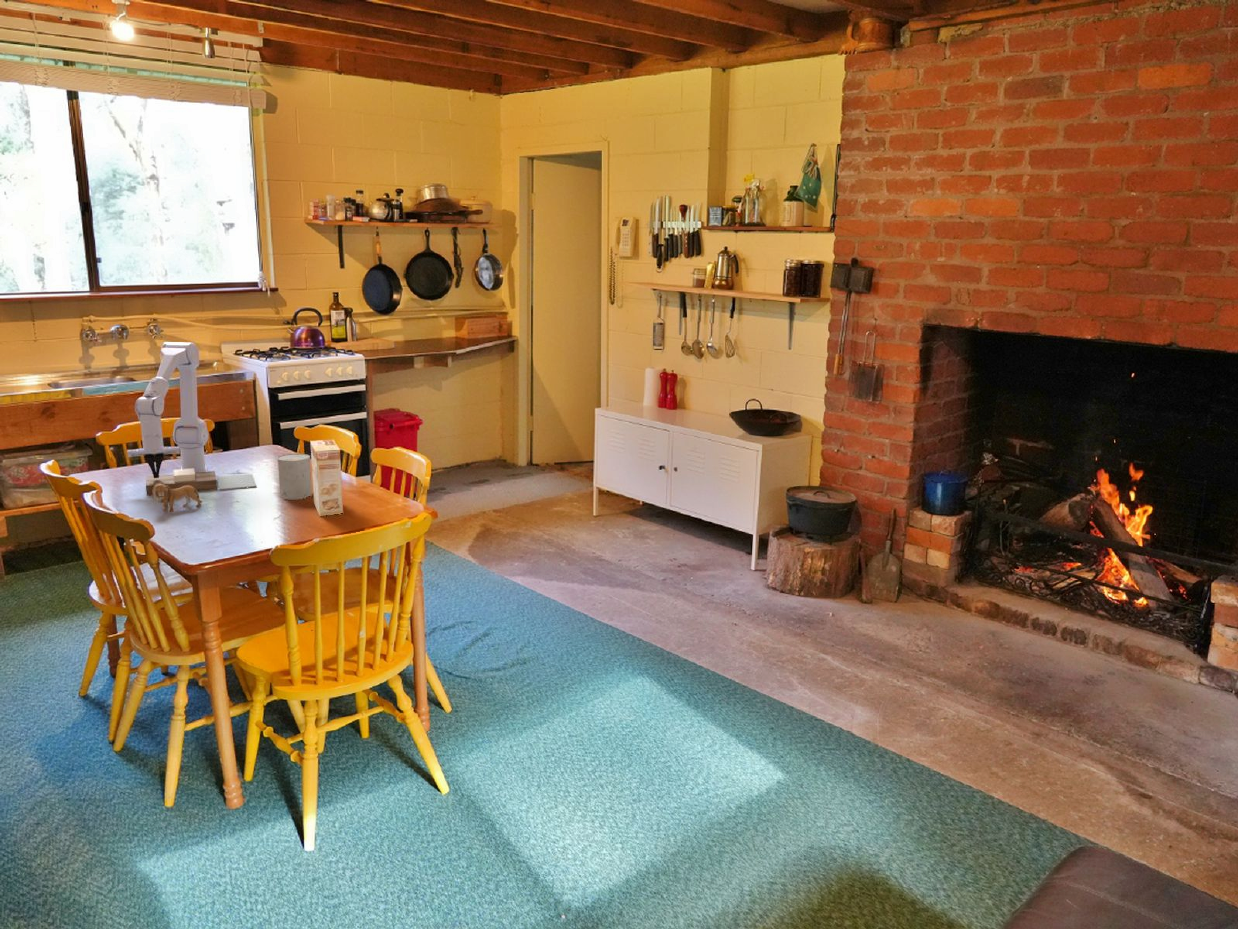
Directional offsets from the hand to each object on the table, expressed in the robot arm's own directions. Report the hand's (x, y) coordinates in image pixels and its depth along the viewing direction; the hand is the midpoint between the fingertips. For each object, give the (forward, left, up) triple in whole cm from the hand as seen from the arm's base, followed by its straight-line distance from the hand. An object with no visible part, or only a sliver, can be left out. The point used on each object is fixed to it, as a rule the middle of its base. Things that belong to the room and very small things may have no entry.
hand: (156, 477), depth 292 cm
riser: (0, +7, -4) cm, 8 cm away
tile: (0, +8, -1) cm, 8 cm away
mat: (0, +23, -4) cm, 23 cm away
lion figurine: (+26, +6, -4) cm, 27 cm away
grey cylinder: (+22, +39, -4) cm, 45 cm away
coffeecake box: (+40, +46, -4) cm, 61 cm away
